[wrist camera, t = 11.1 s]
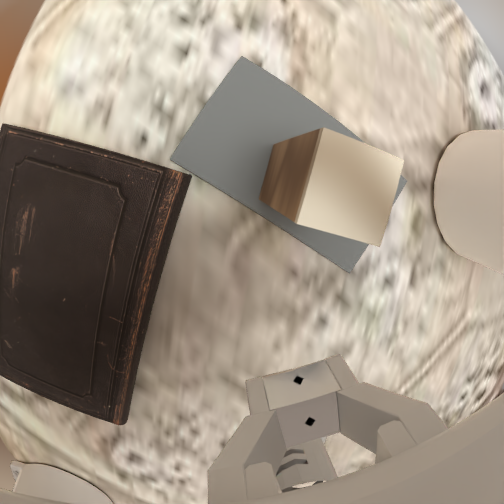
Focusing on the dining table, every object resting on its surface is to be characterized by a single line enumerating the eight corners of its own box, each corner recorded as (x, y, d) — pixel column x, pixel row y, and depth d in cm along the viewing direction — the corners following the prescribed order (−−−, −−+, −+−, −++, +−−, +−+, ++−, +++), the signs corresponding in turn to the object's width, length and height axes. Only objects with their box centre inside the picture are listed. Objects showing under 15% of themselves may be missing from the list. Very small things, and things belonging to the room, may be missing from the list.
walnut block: (311, 213, 23) (379, 246, 13) (258, 199, 22) (296, 224, 12) (325, 161, 22) (404, 160, 12) (273, 144, 21) (323, 127, 11)
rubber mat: (347, 271, 25) (349, 273, 24) (170, 159, 21) (169, 159, 20) (404, 180, 23) (407, 180, 23) (241, 57, 19) (241, 55, 19)
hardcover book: (-6, 356, 23) (-16, 367, 21) (16, 125, 19) (2, 123, 16) (129, 412, 26) (125, 427, 24) (193, 175, 22) (191, 175, 20)
